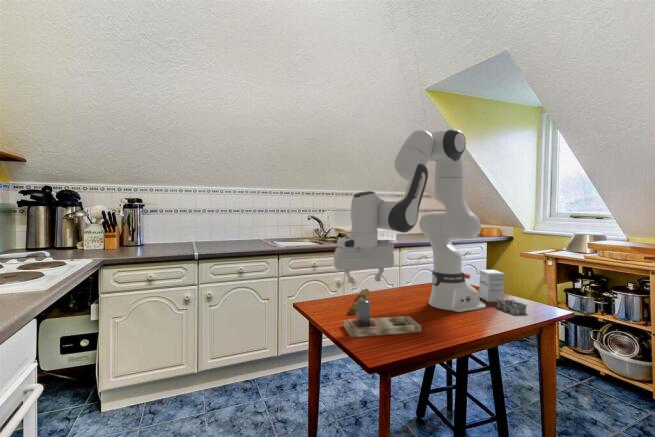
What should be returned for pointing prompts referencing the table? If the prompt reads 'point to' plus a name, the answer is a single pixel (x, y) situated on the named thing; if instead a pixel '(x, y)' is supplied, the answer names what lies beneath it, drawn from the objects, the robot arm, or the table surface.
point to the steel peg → (363, 313)
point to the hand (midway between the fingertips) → (364, 281)
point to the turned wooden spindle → (362, 295)
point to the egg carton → (512, 306)
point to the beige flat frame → (382, 326)
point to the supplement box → (491, 285)
